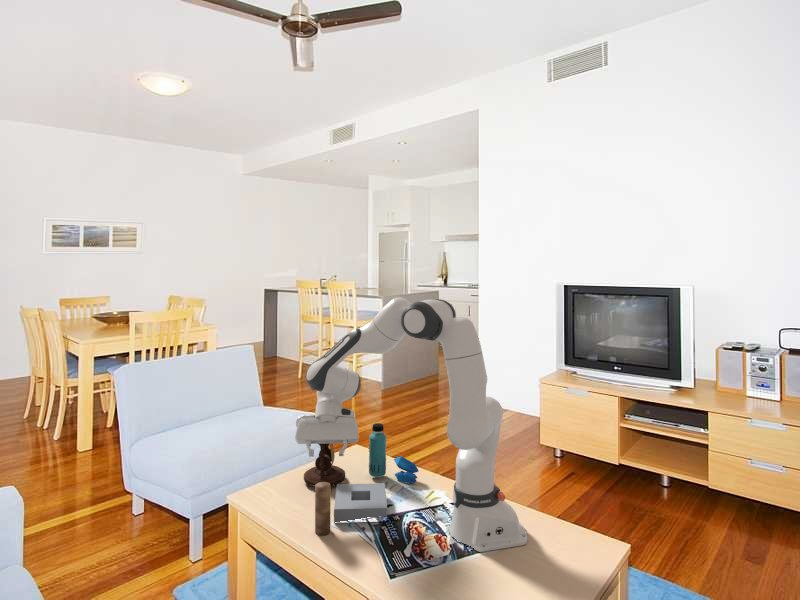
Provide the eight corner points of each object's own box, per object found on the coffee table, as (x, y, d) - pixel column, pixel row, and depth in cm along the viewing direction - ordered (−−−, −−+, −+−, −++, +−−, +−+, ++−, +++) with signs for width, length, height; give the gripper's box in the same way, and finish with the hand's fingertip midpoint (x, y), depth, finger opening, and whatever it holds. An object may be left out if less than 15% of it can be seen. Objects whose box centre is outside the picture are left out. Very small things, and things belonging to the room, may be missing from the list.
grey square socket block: (384, 496, 160) (384, 483, 160) (386, 522, 144) (387, 507, 144) (336, 497, 159) (336, 484, 158) (333, 523, 143) (334, 509, 142)
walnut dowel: (330, 527, 141) (331, 481, 140) (329, 535, 137) (329, 488, 135) (315, 527, 141) (315, 482, 140) (314, 536, 136) (314, 489, 135)
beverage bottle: (384, 472, 178) (384, 420, 176) (388, 480, 171) (388, 426, 170) (367, 474, 176) (367, 421, 175) (370, 482, 170) (370, 428, 168)
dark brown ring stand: (342, 491, 163) (342, 434, 161) (299, 490, 163) (299, 434, 161) (347, 472, 178) (348, 420, 176) (308, 471, 178) (308, 419, 176)
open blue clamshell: (417, 470, 165) (389, 457, 170) (411, 491, 167) (384, 477, 171) (425, 463, 171) (398, 450, 176) (420, 483, 173) (393, 470, 178)
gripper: (296, 411, 155) (291, 452, 146) (358, 410, 157) (358, 451, 148) (297, 420, 160) (293, 460, 151) (358, 419, 161) (358, 459, 152)
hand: (326, 455), depth 149 cm, fingers open, 8 cm apart
